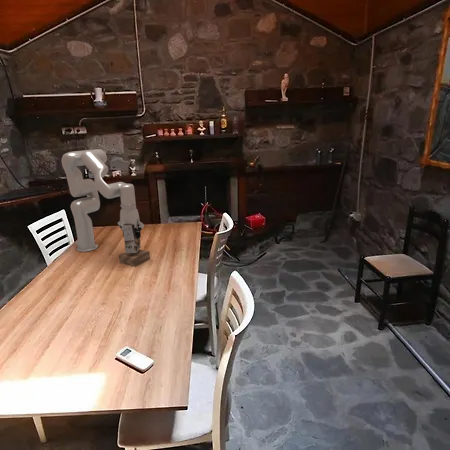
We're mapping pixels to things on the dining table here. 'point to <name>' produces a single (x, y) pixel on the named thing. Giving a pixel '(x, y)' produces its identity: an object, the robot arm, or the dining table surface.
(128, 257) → the walnut block
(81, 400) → the dining table surface
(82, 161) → the robot arm
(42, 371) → the dining table surface
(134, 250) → the coffee box
